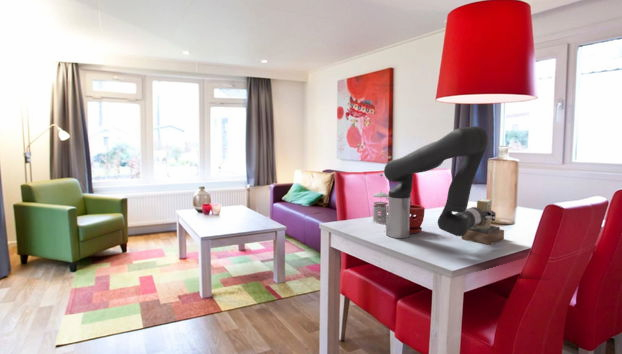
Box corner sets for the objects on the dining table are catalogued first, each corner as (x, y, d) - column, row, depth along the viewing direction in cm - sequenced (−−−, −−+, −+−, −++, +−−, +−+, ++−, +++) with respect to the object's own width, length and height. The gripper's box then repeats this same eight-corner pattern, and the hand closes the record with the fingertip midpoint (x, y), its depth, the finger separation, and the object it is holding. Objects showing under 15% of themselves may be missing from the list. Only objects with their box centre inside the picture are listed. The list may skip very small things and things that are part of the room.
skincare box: (479, 226, 163) (481, 198, 162) (490, 228, 160) (492, 199, 159) (475, 229, 158) (476, 200, 157) (486, 230, 155) (487, 201, 154)
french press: (367, 220, 198) (367, 173, 196) (385, 218, 203) (386, 172, 200) (378, 224, 189) (378, 174, 187) (396, 222, 194) (397, 173, 192)
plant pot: (425, 235, 166) (426, 208, 165) (394, 234, 169) (395, 207, 168) (422, 228, 179) (423, 203, 178) (394, 227, 182) (394, 202, 181)
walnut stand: (461, 239, 160) (462, 227, 159) (475, 234, 168) (476, 222, 168) (490, 244, 151) (490, 232, 150) (503, 239, 159) (504, 227, 159)
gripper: (490, 210, 143) (504, 205, 155) (453, 206, 153) (469, 201, 165) (489, 230, 144) (503, 223, 156) (452, 224, 153) (468, 218, 166)
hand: (486, 212), depth 160 cm, fingers closed on skincare box, 4 cm apart
